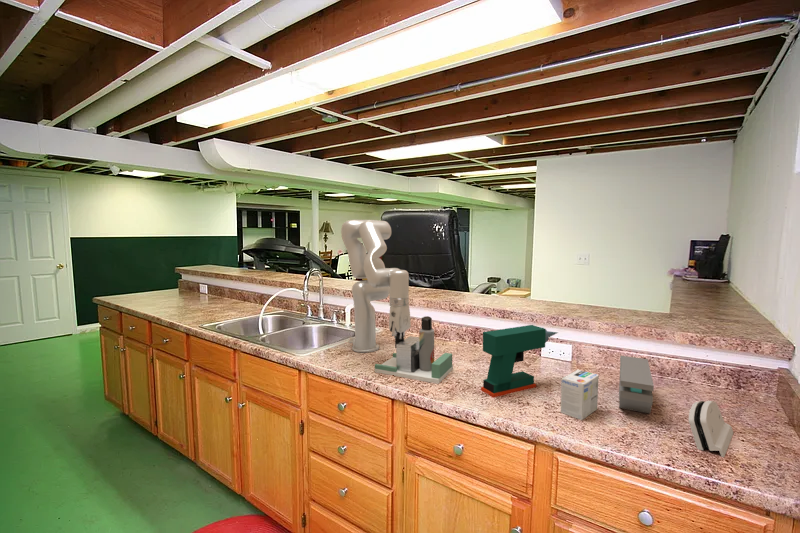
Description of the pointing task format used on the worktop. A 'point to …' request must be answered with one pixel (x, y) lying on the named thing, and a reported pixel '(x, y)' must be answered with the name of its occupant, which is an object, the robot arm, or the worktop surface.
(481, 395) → the worktop surface
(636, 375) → the gray lidded box
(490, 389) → the power tool
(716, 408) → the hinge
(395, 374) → the frame
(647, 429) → the worktop surface
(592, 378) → the light bulb box
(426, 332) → the lotion bottle
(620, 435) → the worktop surface
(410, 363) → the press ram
